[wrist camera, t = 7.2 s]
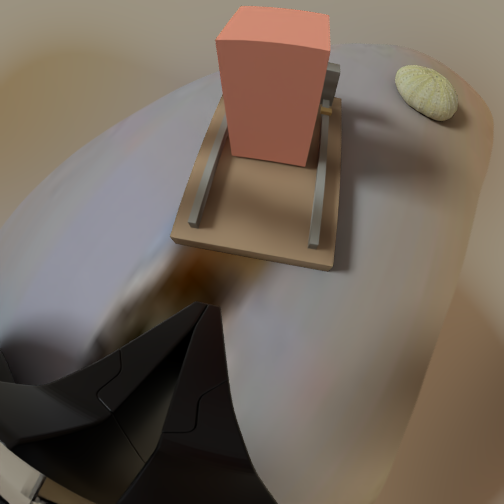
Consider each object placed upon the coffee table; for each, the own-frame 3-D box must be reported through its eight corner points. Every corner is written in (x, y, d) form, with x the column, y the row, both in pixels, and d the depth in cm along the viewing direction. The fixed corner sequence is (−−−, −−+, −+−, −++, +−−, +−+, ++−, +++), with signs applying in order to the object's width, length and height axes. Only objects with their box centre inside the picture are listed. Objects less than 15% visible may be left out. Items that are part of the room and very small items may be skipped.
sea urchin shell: (383, 61, 27) (431, 44, 21) (406, 98, 32) (449, 85, 26) (399, 100, 24) (458, 82, 18) (420, 141, 29) (471, 127, 23)
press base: (327, 271, 20) (352, 245, 15) (175, 243, 21) (148, 210, 16) (338, 108, 26) (350, 66, 20) (229, 92, 27) (224, 49, 21)
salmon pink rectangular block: (305, 166, 21) (330, 51, 11) (231, 155, 22) (215, 39, 11) (310, 117, 23) (329, 15, 12) (246, 108, 23) (240, 6, 13)
